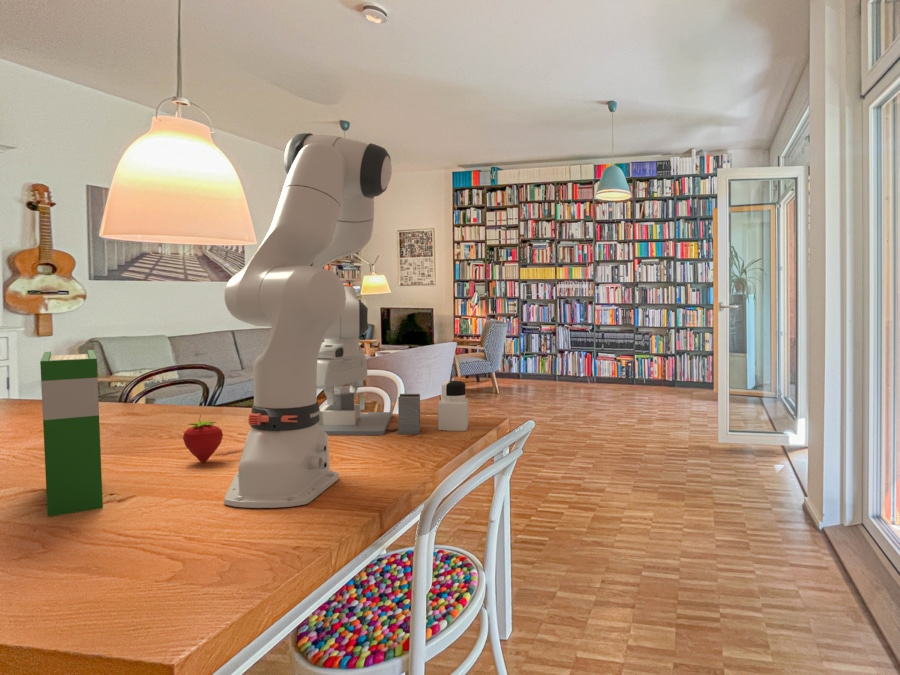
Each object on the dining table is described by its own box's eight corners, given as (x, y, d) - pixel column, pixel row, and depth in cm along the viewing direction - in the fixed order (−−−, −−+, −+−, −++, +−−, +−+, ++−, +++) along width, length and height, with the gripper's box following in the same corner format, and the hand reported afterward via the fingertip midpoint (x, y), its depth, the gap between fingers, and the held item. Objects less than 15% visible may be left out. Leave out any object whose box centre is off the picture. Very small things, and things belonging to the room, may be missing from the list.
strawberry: (223, 464, 124) (222, 415, 123) (182, 467, 121) (180, 417, 121) (223, 457, 129) (222, 409, 129) (184, 460, 127) (183, 412, 126)
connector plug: (354, 420, 161) (353, 385, 161) (341, 422, 158) (340, 387, 157) (343, 417, 164) (342, 384, 164) (330, 420, 161) (329, 386, 160)
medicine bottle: (468, 425, 161) (468, 379, 160) (466, 431, 154) (466, 383, 153) (441, 424, 161) (441, 379, 160) (438, 430, 154) (438, 383, 153)
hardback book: (50, 486, 110) (44, 351, 108) (98, 479, 114) (93, 349, 112) (47, 516, 95) (40, 361, 93) (102, 508, 99) (96, 358, 97)
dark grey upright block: (418, 434, 150) (418, 397, 150) (398, 434, 150) (398, 397, 150) (420, 428, 156) (419, 393, 156) (400, 428, 156) (400, 393, 156)
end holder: (383, 435, 149) (383, 416, 149) (284, 435, 149) (284, 416, 149) (392, 415, 173) (392, 399, 173) (306, 415, 173) (306, 399, 173)
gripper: (353, 345, 171) (353, 394, 172) (307, 351, 152) (308, 407, 153) (372, 346, 168) (373, 396, 169) (329, 352, 149) (329, 409, 150)
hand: (342, 401), depth 161 cm, fingers open, 8 cm apart
